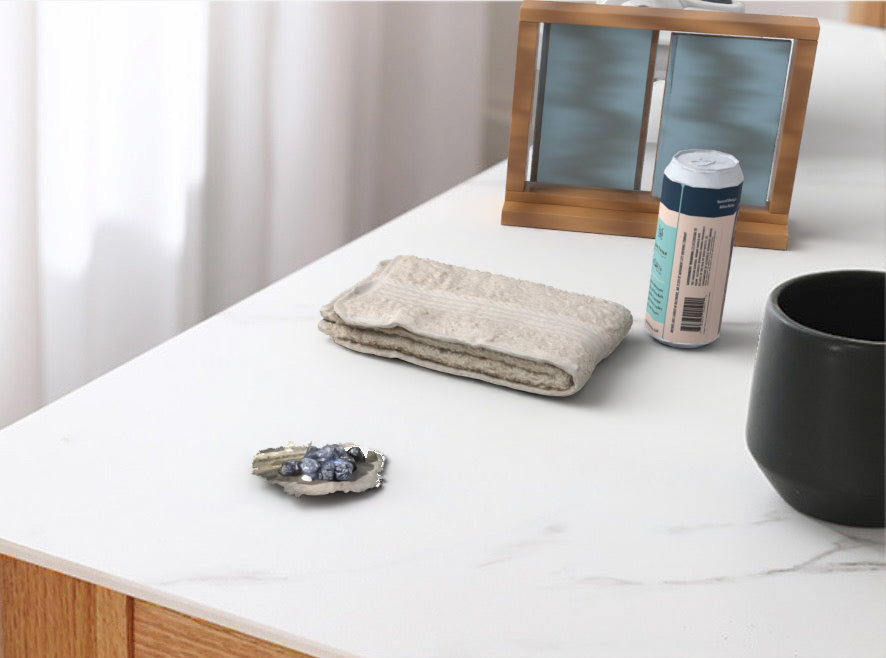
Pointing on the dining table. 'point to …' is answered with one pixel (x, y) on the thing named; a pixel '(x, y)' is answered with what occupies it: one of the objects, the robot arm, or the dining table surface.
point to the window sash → (593, 105)
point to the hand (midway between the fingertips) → (636, 71)
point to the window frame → (681, 116)
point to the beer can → (693, 247)
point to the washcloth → (477, 325)
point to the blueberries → (318, 468)
